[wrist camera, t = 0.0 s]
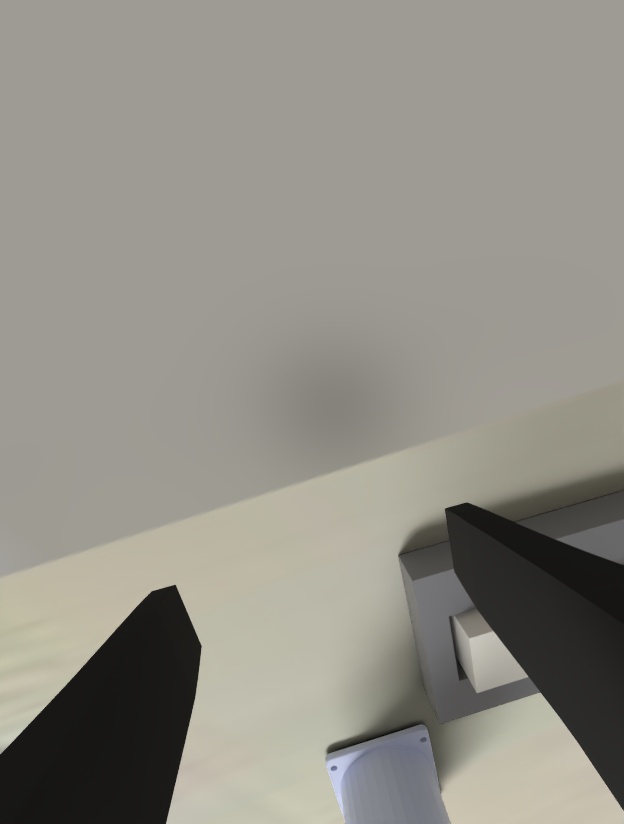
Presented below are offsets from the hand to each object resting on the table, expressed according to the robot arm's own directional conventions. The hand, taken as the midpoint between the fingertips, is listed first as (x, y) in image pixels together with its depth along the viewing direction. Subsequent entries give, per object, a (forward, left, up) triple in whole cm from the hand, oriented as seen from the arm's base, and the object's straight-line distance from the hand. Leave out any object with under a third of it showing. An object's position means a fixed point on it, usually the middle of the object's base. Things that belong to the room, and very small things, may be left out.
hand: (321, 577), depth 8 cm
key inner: (-15, -9, -10) cm, 20 cm away
